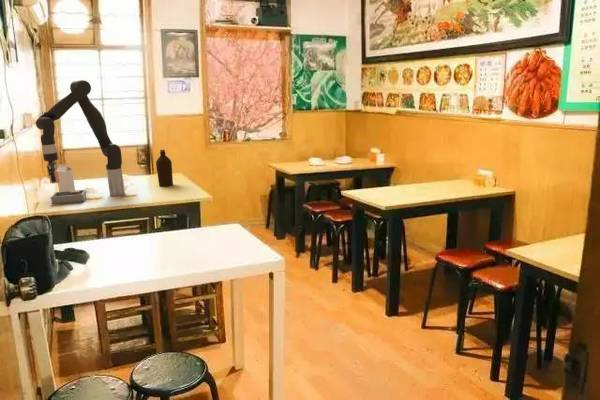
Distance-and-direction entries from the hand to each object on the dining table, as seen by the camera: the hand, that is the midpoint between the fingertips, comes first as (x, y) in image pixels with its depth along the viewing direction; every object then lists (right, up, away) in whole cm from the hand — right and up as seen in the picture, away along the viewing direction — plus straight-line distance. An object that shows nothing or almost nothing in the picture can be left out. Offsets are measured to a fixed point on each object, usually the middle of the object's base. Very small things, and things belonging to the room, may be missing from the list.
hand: (54, 180), depth 289 cm
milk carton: (-14, -6, +46) cm, 48 cm away
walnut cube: (+3, -11, +21) cm, 23 cm away
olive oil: (+50, -1, +56) cm, 75 cm away
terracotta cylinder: (0, -1, 0) cm, 1 cm away
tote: (0, -12, +20) cm, 23 cm away
